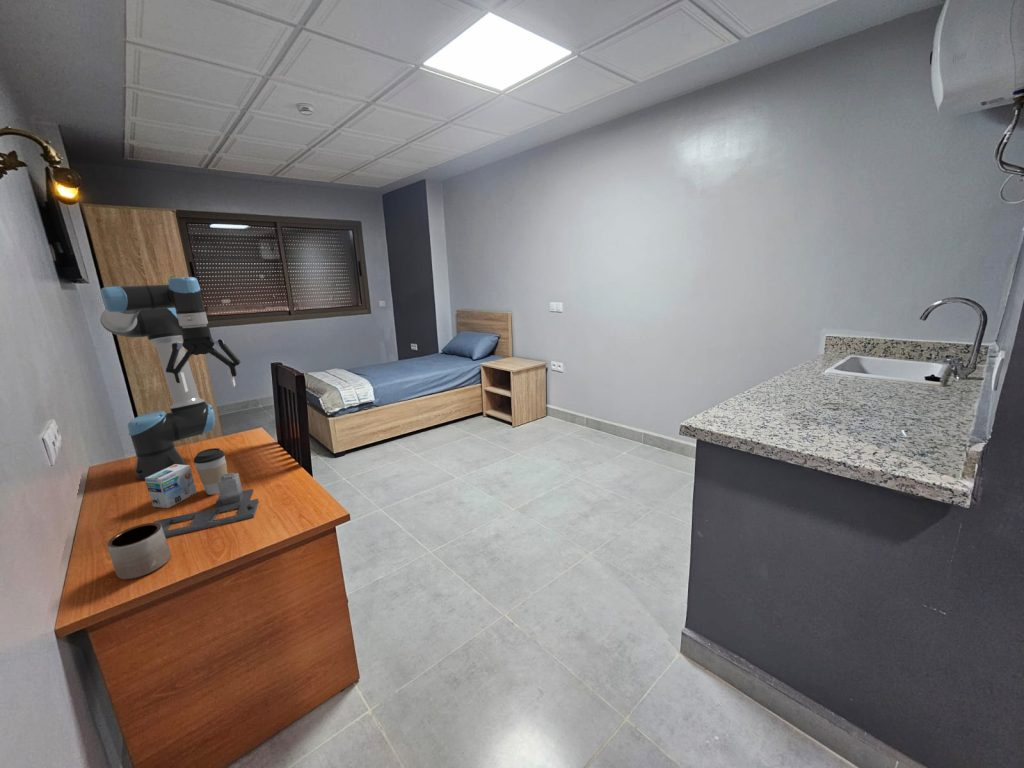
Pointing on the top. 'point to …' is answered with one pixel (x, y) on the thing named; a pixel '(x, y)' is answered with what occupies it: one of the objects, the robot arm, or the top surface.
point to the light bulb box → (171, 485)
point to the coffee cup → (211, 468)
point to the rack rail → (209, 518)
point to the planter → (139, 550)
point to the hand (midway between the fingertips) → (210, 389)
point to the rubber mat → (245, 497)
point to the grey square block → (230, 488)
